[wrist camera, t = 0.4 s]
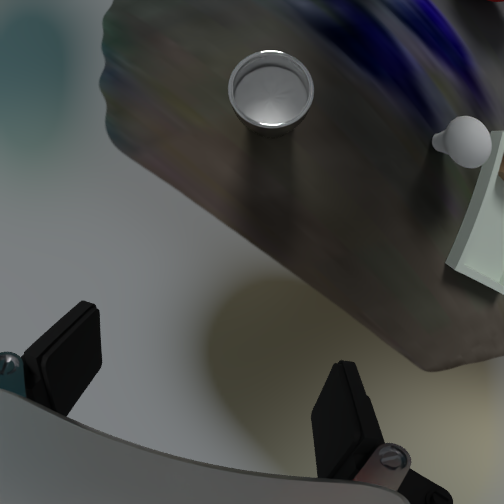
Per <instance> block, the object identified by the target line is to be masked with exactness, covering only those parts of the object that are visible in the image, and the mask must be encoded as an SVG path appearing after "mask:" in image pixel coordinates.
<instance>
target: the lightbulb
mask: <svg viewBox="0 0 504 504" xmlns="http://www.w3.org/2000/svg"><path fill="white" fill-rule="evenodd" d="M432 145H433V147H434V149H435V150H437V151H439V152H443V153H445V154H449V155H450V157H451V158H452V159H453V160H454V161H455V162H456V163H457V164H459V165H461V166H463V167H465V168H476V167H479V166H481V165H483V164H484V163H485V162H486V161H487V160H488V158H489V156H490V154H491V149H492V142H491V137H490V134H489V132H488V130H487V128H486V127H485V126H484V125H483V124H482V123H481V122H480V121H479V120H477V119H475V118H473V117H469V116H460V117H457V118H455V119H454V120H452V121H451V122H450V123H449V125H448V127H447V128H446V130H445V131H442V132H441V133H438V134H435V135H434V136H433V138H432Z"/></svg>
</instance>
